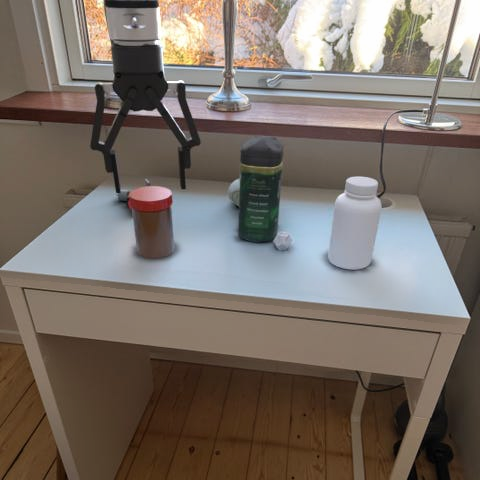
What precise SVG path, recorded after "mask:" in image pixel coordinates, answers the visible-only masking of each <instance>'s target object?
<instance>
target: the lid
mask: <svg viewBox="0 0 480 480" xmlns="http://www.w3.org/2000/svg"><path fill="white" fill-rule="evenodd" d="M130 191H131V192H130V193H129V201H130V205H131V207H132V208H134V209H136V210H139V211H146V212H153V211H160V210H164V209H167V208H169V207H170V206H171V207H172V205H173V203H174V202H173V194H172V193H173V192H172V190H170V189H169V188H167V187H163V186H157V185H150V186H146V185H145V186H140V187H137V188H134V189H132V190H130Z"/></svg>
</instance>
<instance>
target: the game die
mask: <svg viewBox="0 0 480 480" xmlns="http://www.w3.org/2000/svg"><path fill="white" fill-rule="evenodd" d="M272 242H273V244H274V246H275V248H276V249H277V250H278V251H287V250H288V248H289V247H290V245H291V244H292V242H293V239H292V238H291V236H290V234H289V233H288V232H287V231H278V232H277V233H276V235H275V237H274V238H273V239H272Z"/></svg>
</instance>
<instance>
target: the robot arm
mask: <svg viewBox="0 0 480 480" xmlns="http://www.w3.org/2000/svg"><path fill="white" fill-rule="evenodd" d="M104 6H105V14H106V21H107V30H108V37H109V39H110V40H111V41H113V43H112V44H111V46H110V50H111V58H112V60H111V61H112V67H113V76H114V77H113V80H112V82H101V81H97V82H95V85H94V92H95V97H96V105H95V111H94V112H95V113H94V118H93V124H92V132H91V138H90V150H92V151H97V152H101V154H102V156H103V161H104V167H105V171H106V173H107V174H110V173H112V175H113V182H114V188H115V194H118V193H121V190H122V189H121V188H122V187H121V180H120V172H119V166H118V158H117V151H116V149H112V148H113V147H114V144H115V142H116V139H117V138H118V135H119V133H120V131H121V128H122V126H123V125H124V122H125V120H126V118H127V116H128V114H129V112H130V111H132V112H141V111H146V112H154V111H155V110H157V112H158V114H159V115H160V116H161V117H162V119H163V120H164V122H165V123H166V125H167V127H168V128H169V130H170V131H171V132H172V134H173V135H174V137H175V138H176V140H177V141H178V142H179V144H180V146H177V157H178V172H179V173H178V175H179V186H180V189H181V190H186V189H187V186H186V185H187V183H186V169H187V170H189V169H191V166H192V161H191V160H192V158H191V150H192V149H193V148H194V147H198V146H200V145H201V143H202V141H201V138H200V134H199V132H198V130H197V126H196V123H195V121H194V118H193V115H192V112H191V110H190V107H189V104H188V101H187V96H186V95H187V94H186V93H187V92H186V91H187V90H186V84H185V82H184V81H183V80H182V79H179V80H177V81H167V79H166V76H165V67H164V53H163V46H162V44H161V43H159V42H158V41H160V40H161V39H162V26H161V25H162V24H161V15H160V13H161V12H160V3H159V0H104ZM168 90H169V91H171V93H172V96H173V97H175V98H177V102H178V105H179V107H180V111H181V113H182V116H183V119H184V121H185V124H186V127H187V129H188V132H189V135H190V137H188V138H187V137H186V135H185V134H184V132H183V131H182V129H181V128H180V126H179V125H178V123H177V122H176V120H175V119H174V117H173V116H172V114H171V112H170V111H169V109H168V108H167V106H166V104H165V103H164V102H163V99H164V98H165V96H166V94H167V92H168ZM111 92H114V93H115V94H116V95H117V97H118V98H119V100H120V101H121V103H120V105H119V108H118V110H117V113H116V115H115V117H114V120H113V122H112V124H111V126H110V128H109V130H108V133H107V135H106V138H105V139H104V140H103V141H101V140H100V138H101V131H102V127H103V126H102V125H103V121H104V120H103V119H104V115H105V107H106V100H107V99H109V98H110V96H111Z"/></svg>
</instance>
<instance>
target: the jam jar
mask: <svg viewBox="0 0 480 480" xmlns="http://www.w3.org/2000/svg"><path fill="white" fill-rule="evenodd" d="M131 213H132V221H133V229H134V236H135V237H134V238H135V245H136V253H137V254H138V255H139V257H142V258H145V259H163V258H166V257H168V256H170V255H172V254H173V253H174V251H175V239H174V238H175V237H174V224H173V223H174V222H173V210H172V205H171V206H170V207H169V208H167V209H164V210H160V211H153V212H146V211H139V210H136V209H134V208H132V211H131Z"/></svg>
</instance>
